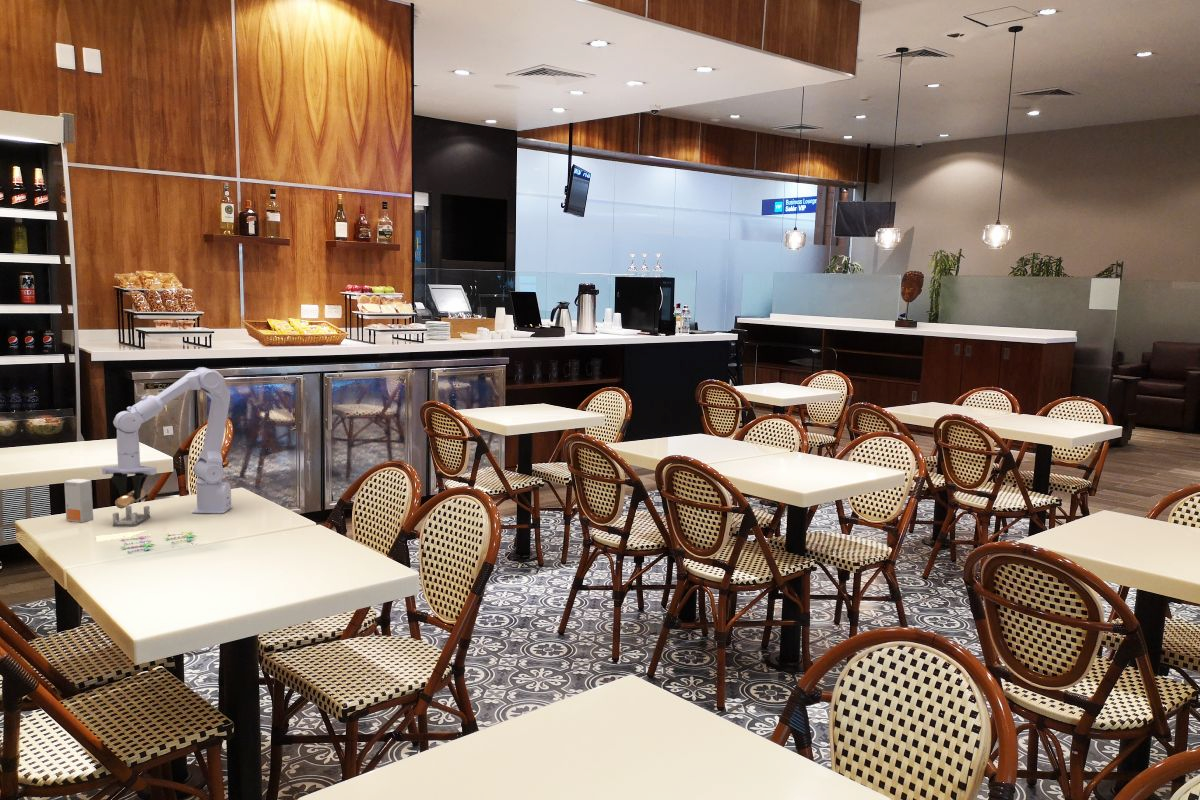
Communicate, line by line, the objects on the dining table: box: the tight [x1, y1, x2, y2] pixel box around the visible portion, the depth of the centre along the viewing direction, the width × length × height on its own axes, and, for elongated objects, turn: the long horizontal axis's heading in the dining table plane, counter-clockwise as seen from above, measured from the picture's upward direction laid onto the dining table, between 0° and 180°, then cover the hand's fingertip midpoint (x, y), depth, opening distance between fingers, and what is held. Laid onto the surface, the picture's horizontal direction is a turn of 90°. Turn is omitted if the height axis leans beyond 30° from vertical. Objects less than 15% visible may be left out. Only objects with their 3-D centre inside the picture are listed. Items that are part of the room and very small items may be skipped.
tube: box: [114, 488, 146, 510], centre depth 263 cm, size 12×3×3 cm, turn 3°
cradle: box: [112, 505, 151, 527], centre depth 263 cm, size 6×10×4 cm, turn 3°
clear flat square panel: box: [95, 529, 195, 553], centre depth 244 cm, size 30×30×2 cm
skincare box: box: [63, 478, 94, 524], centre depth 263 cm, size 6×4×12 cm
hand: (130, 498), depth 263 cm, fingers closed on tube, 3 cm apart
